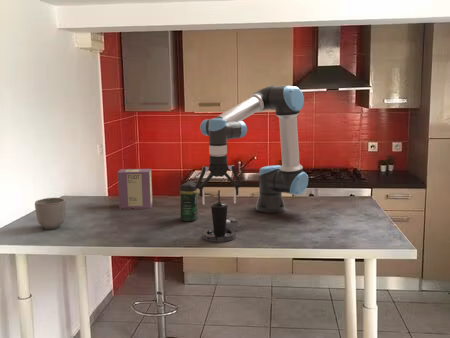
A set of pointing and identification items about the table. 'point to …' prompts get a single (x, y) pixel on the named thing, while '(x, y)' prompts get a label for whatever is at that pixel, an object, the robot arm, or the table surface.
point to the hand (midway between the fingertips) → (219, 203)
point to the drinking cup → (219, 216)
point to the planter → (51, 212)
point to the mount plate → (211, 237)
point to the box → (135, 188)
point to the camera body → (232, 224)
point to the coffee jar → (188, 201)
